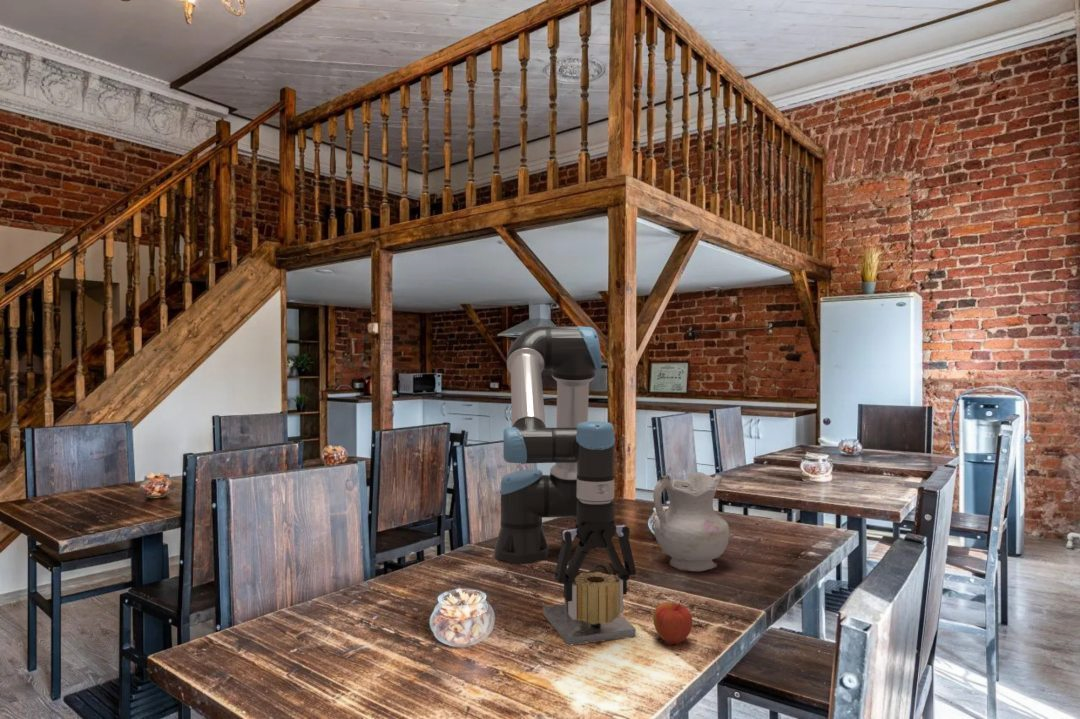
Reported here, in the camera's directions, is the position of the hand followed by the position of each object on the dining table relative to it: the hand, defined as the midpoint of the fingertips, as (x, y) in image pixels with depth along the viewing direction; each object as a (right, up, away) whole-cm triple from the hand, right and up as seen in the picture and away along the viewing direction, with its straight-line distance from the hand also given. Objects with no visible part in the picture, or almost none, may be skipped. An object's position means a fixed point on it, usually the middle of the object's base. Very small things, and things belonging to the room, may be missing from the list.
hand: (595, 613), depth 124 cm
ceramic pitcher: (+28, -5, +42) cm, 51 cm away
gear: (0, 0, 0) cm, 0 cm away
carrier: (-1, -4, +4) cm, 6 cm away
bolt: (+3, -5, +28) cm, 29 cm away
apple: (+14, -4, -4) cm, 16 cm away
